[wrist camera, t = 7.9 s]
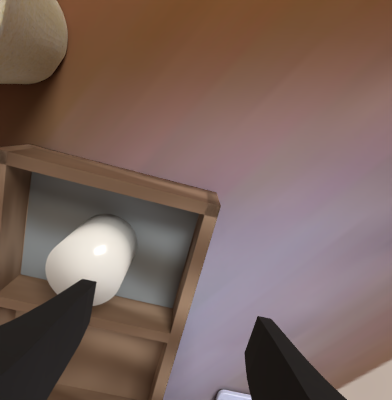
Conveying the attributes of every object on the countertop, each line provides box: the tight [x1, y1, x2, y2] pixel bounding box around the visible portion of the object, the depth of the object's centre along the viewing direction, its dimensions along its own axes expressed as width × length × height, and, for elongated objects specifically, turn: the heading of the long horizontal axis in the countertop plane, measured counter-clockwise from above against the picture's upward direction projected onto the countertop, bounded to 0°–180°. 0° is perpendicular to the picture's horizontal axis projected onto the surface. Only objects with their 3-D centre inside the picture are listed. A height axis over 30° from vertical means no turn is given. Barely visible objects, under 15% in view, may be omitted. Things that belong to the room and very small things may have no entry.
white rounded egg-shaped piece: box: [45, 214, 138, 306], centre depth 18 cm, size 4×4×4 cm
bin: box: [0, 144, 221, 400], centre depth 20 cm, size 20×14×4 cm, turn 165°
